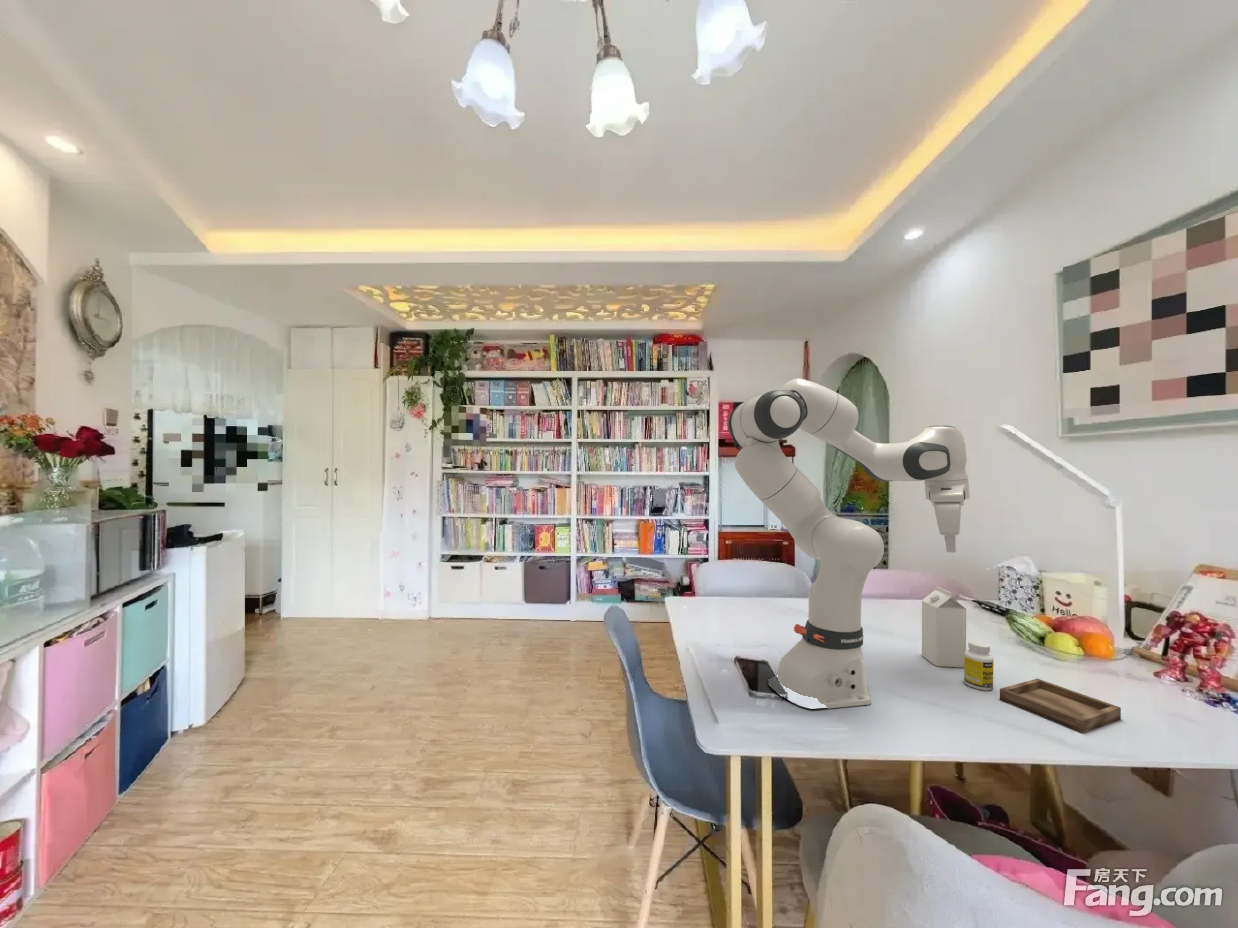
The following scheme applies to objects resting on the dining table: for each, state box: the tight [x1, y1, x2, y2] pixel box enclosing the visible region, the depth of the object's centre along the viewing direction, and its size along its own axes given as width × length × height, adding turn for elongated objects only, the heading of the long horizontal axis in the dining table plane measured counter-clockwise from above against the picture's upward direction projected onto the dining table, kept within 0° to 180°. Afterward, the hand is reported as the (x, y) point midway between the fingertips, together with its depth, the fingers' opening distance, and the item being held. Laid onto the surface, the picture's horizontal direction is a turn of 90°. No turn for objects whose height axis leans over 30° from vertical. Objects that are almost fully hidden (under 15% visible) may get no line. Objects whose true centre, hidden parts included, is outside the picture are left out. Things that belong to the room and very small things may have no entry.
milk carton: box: [921, 585, 967, 669], centre depth 123 cm, size 7×7×19 cm
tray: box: [999, 678, 1122, 734], centre depth 99 cm, size 14×14×2 cm
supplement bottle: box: [963, 640, 994, 691], centre depth 109 cm, size 5×5×10 cm
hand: (951, 548), depth 114 cm, fingers open, 8 cm apart
